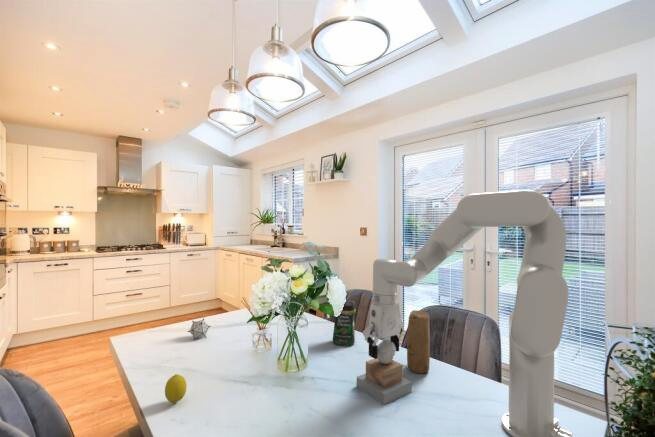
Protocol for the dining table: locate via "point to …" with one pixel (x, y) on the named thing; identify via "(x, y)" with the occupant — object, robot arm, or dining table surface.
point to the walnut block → (384, 372)
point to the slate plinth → (381, 393)
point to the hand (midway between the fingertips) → (384, 353)
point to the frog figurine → (386, 351)
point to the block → (418, 342)
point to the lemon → (175, 388)
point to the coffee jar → (345, 325)
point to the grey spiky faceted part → (199, 329)
